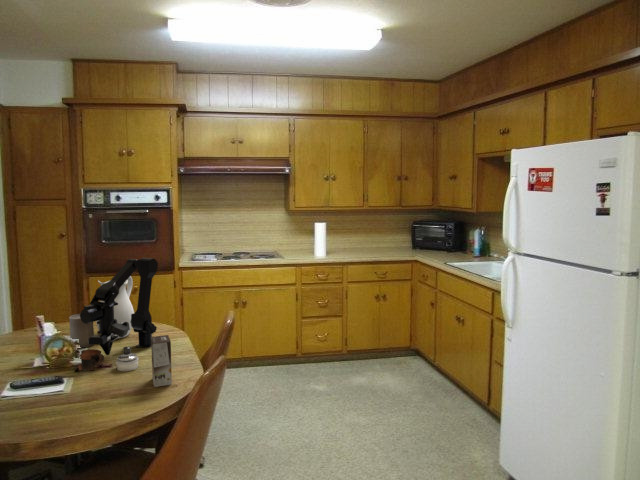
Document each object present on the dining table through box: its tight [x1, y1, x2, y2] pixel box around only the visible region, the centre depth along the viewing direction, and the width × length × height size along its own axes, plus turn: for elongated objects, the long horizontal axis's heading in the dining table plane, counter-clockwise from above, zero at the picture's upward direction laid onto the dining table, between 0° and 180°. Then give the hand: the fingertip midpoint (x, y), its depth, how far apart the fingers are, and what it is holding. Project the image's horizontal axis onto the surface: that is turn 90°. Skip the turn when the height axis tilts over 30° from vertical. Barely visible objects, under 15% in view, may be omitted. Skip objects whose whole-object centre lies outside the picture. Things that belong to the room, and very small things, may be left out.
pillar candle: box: [68, 313, 95, 348], centre depth 220 cm, size 10×10×15 cm
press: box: [115, 355, 140, 372], centre depth 195 cm, size 11×8×4 cm
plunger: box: [116, 346, 138, 361], centre depth 193 cm, size 7×7×4 cm
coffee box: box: [150, 334, 173, 388], centre depth 180 cm, size 9×6×16 cm
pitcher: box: [95, 275, 135, 340], centre depth 237 cm, size 24×17×28 cm
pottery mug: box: [77, 348, 105, 372], centre depth 194 cm, size 12×10×8 cm
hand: (107, 354), depth 202 cm, fingers closed
